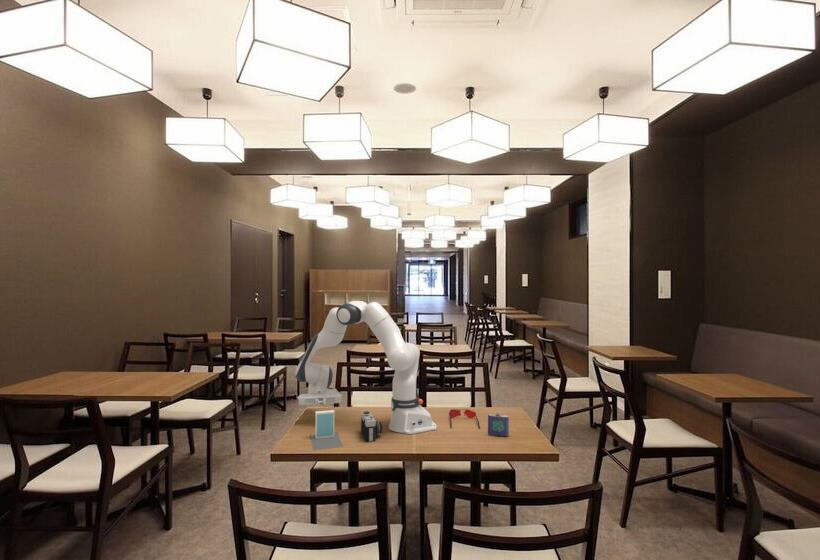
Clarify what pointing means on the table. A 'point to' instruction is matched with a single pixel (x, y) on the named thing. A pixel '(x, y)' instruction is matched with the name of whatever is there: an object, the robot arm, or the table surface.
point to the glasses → (457, 413)
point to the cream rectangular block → (324, 424)
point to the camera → (370, 427)
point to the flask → (498, 425)
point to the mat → (326, 442)
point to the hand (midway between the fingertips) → (321, 403)
